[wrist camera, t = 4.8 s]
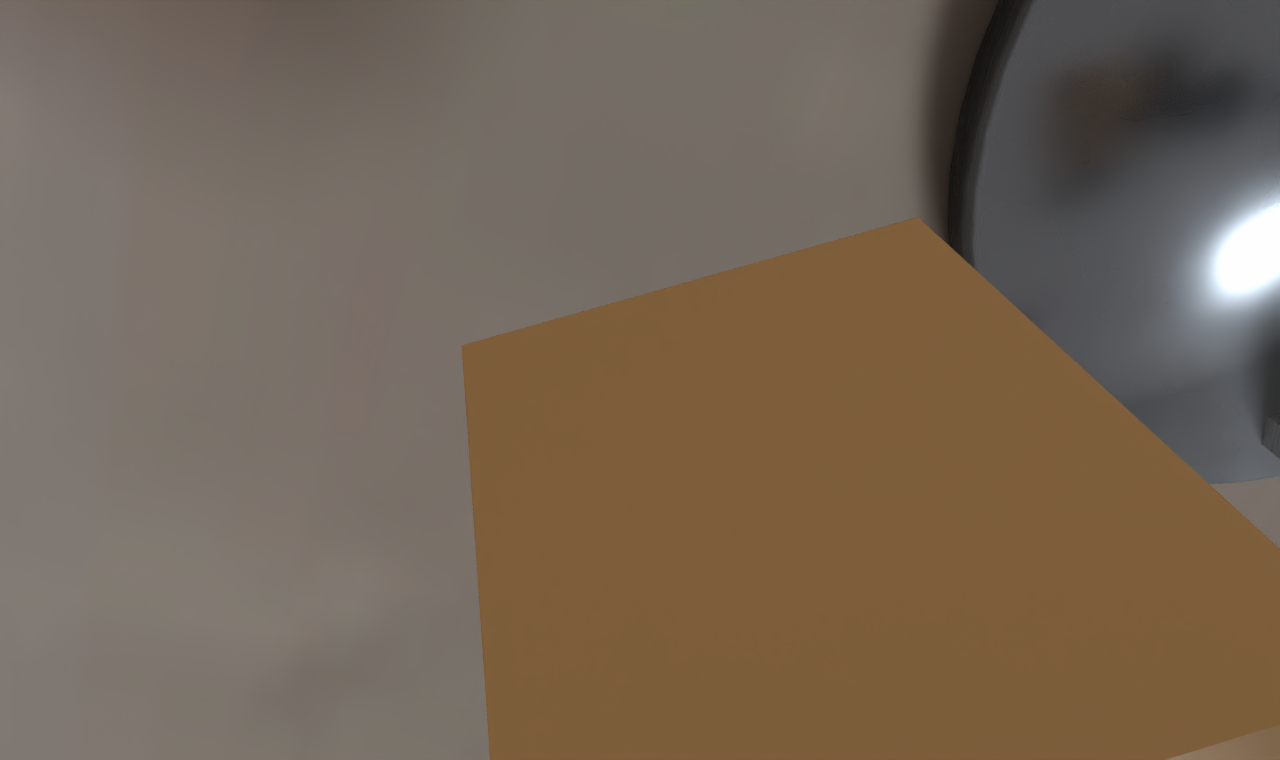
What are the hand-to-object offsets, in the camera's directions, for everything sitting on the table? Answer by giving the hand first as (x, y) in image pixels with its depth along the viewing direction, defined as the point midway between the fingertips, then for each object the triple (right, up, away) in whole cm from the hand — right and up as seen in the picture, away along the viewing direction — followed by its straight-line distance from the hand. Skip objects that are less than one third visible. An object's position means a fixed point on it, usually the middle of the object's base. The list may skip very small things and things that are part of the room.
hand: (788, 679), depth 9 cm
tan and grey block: (0, +1, +1) cm, 1 cm away
